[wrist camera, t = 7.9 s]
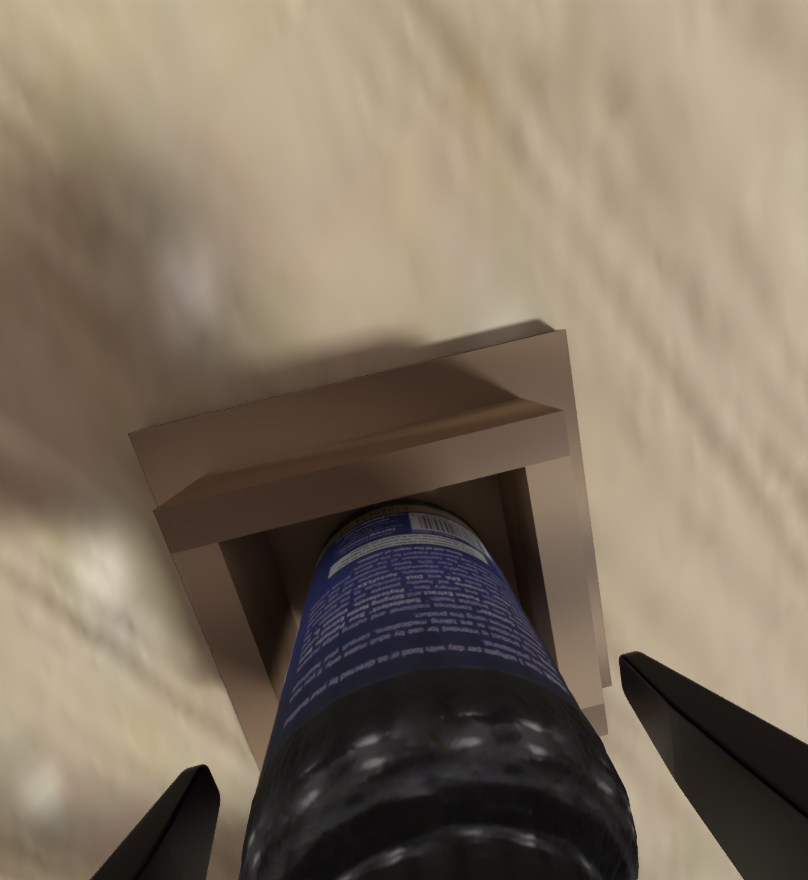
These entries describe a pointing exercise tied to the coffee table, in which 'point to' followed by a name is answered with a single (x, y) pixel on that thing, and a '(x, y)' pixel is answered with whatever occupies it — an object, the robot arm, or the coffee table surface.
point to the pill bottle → (429, 725)
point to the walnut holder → (374, 481)
